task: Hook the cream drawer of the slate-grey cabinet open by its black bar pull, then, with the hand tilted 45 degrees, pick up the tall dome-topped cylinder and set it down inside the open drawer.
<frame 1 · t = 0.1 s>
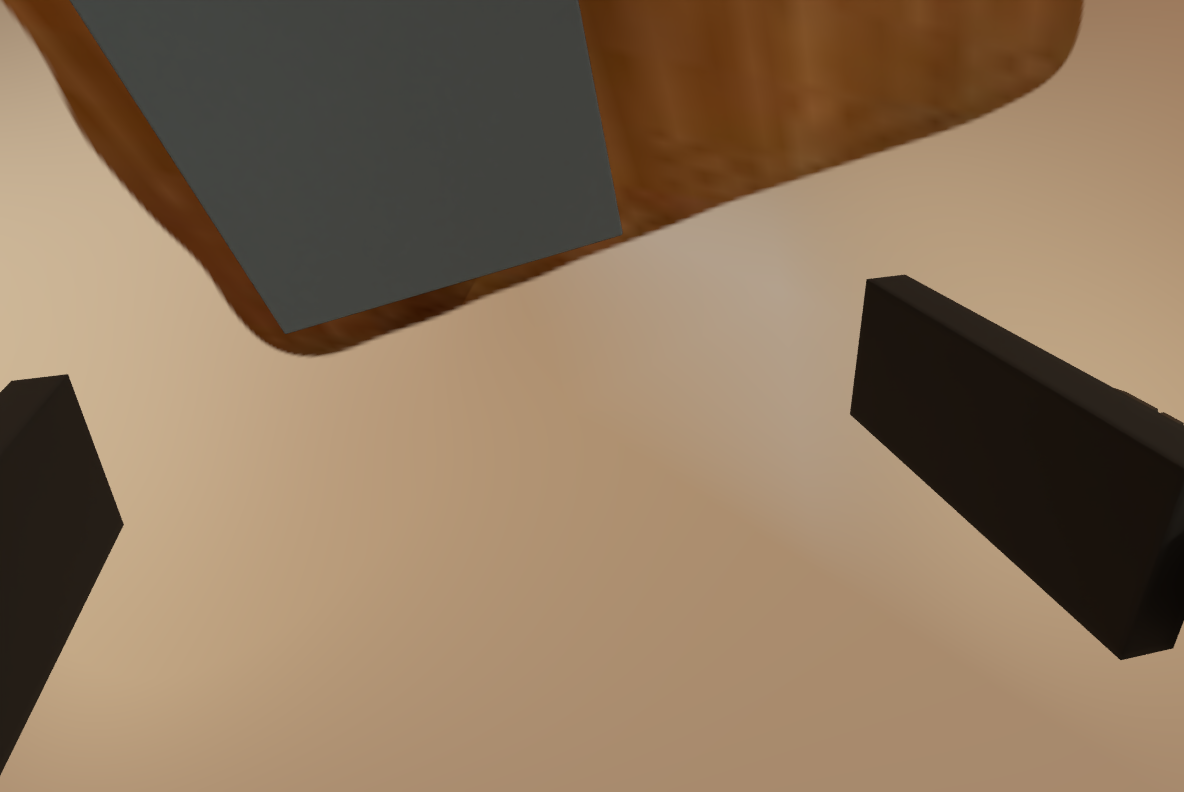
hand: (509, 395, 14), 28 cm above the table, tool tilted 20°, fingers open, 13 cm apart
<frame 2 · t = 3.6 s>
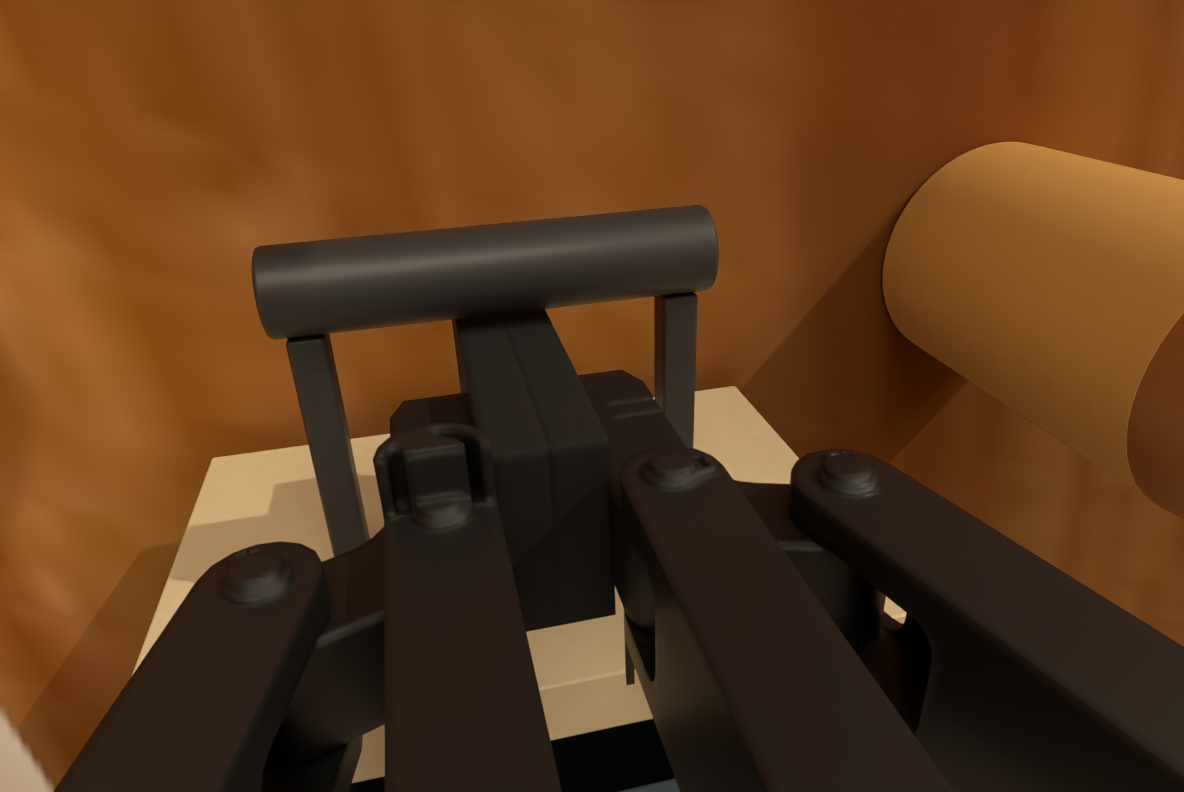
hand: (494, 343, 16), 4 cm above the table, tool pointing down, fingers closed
cabinet: (518, 715, 26), on the table
drawer: (531, 703, 19), point 5 cm above the table, slide at 1.4 cm, touching gripper
dome-topped cylinder: (980, 253, 22), on the table
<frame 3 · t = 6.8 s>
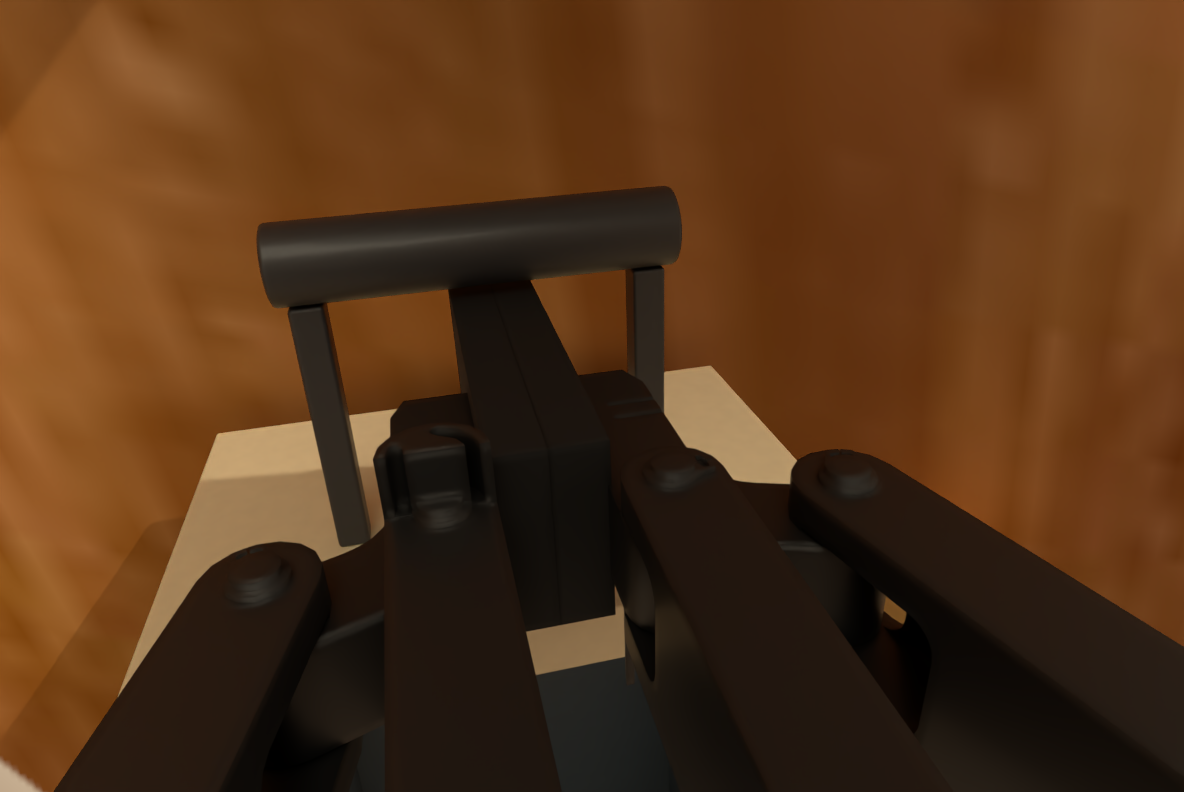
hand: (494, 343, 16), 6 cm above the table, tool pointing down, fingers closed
drawer: (518, 661, 20), point 5 cm above the table, slide at 13.6 cm
dome-topped cylinder: (890, 570, 29), on the table
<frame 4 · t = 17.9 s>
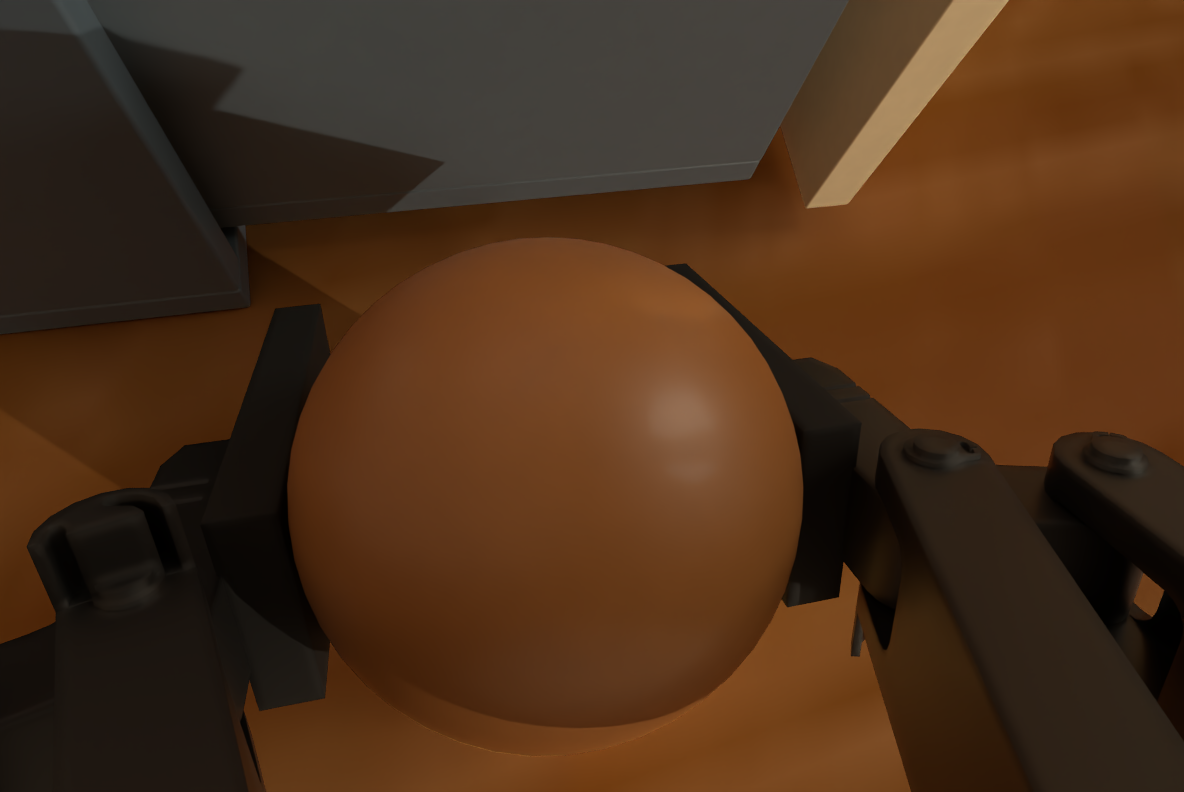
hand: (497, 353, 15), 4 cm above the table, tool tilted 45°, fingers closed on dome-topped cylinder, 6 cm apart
dome-topped cylinder: (518, 567, 18), on the table, touching gripper
when the fingers open (6 cm above the table, at t = 29.6 s): dome-topped cylinder stays where it is, resting on drawer.
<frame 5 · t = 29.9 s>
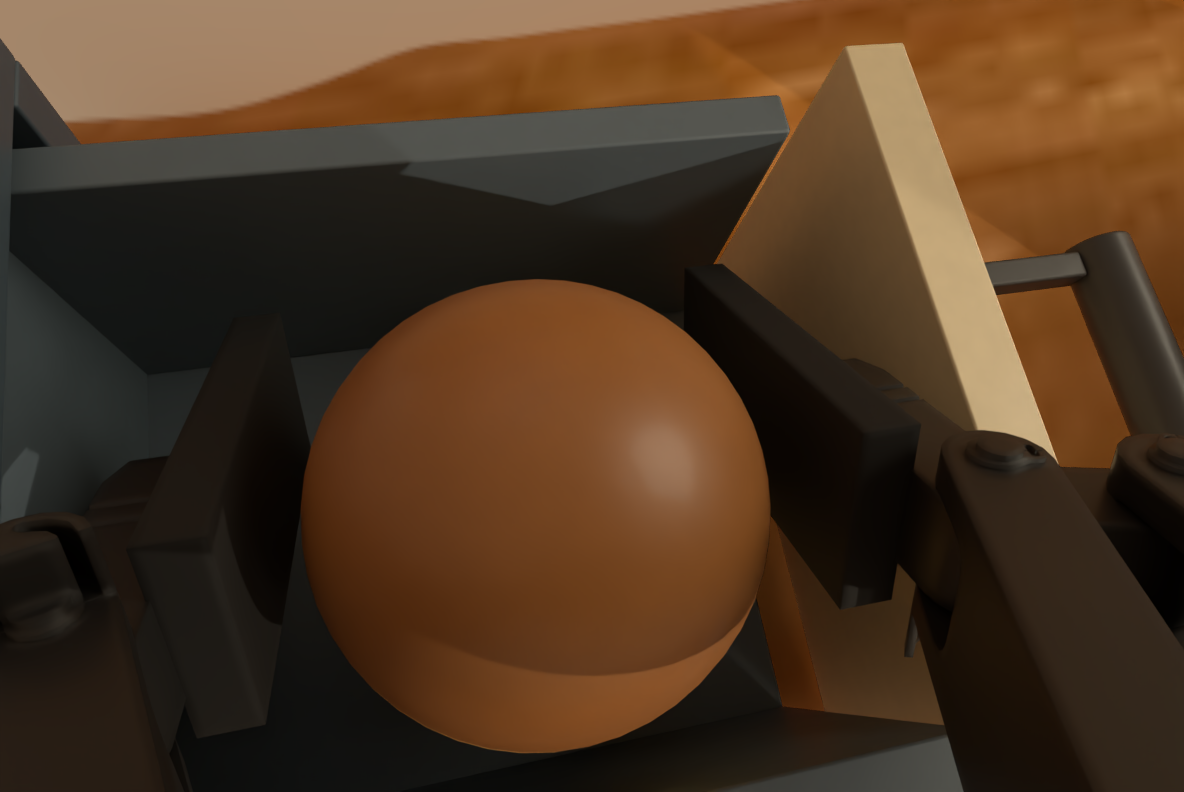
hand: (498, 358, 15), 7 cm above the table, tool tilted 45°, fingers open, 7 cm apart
drawer: (660, 479, 16), point 5 cm above the table, slide at 13.6 cm, touching dome-topped cylinder
dome-topped cylinder: (514, 575, 18), point 2 cm above the table, touching drawer
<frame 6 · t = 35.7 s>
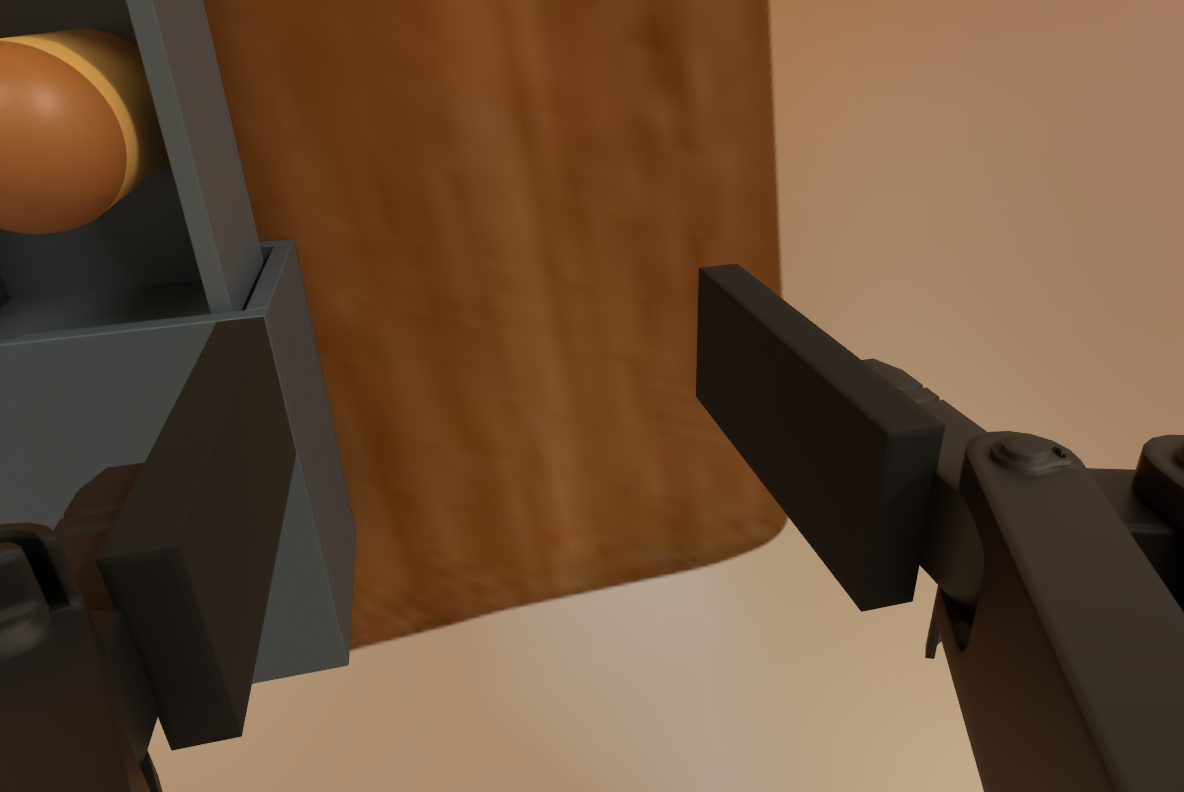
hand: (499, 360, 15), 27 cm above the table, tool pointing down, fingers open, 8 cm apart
cabinet: (187, 417, 42), on the table
drawer: (17, 34, 29), point 5 cm above the table, slide at 13.6 cm, touching dome-topped cylinder
dome-topped cylinder: (102, 108, 33), point 2 cm above the table, touching drawer
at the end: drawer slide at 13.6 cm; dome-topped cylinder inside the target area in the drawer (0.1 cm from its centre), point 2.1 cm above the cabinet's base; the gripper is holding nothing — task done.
